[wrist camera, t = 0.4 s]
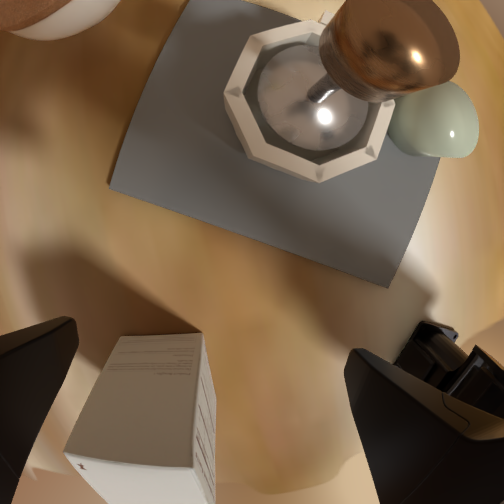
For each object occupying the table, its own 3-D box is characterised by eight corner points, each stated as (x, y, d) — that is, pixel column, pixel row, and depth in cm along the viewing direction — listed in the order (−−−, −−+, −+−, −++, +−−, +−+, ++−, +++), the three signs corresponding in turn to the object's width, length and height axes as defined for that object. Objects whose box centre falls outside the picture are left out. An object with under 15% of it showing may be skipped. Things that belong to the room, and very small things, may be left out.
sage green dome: (442, 114, 18) (483, 109, 13) (426, 167, 19) (469, 172, 14) (395, 81, 17) (433, 65, 12) (376, 136, 18) (416, 131, 14)
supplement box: (141, 397, 24) (110, 509, 12) (119, 333, 22) (57, 451, 10) (218, 397, 24) (217, 520, 12) (206, 330, 22) (192, 470, 10)
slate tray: (448, 112, 18) (452, 111, 18) (384, 285, 22) (387, 288, 22) (197, -7, 15) (196, -10, 14) (112, 188, 19) (108, 188, 18)
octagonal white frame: (374, 73, 17) (410, 53, 12) (330, 192, 19) (360, 202, 14) (265, 23, 16) (275, -13, 11) (211, 145, 18) (204, 138, 13)
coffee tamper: (376, 78, 13) (493, 26, 4) (344, 168, 15) (469, 180, 6) (280, 32, 12) (331, -80, 3) (239, 124, 14) (254, 59, 5)
